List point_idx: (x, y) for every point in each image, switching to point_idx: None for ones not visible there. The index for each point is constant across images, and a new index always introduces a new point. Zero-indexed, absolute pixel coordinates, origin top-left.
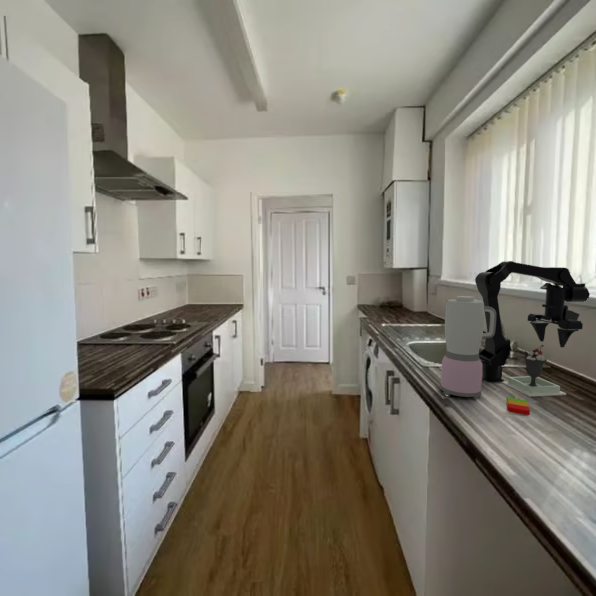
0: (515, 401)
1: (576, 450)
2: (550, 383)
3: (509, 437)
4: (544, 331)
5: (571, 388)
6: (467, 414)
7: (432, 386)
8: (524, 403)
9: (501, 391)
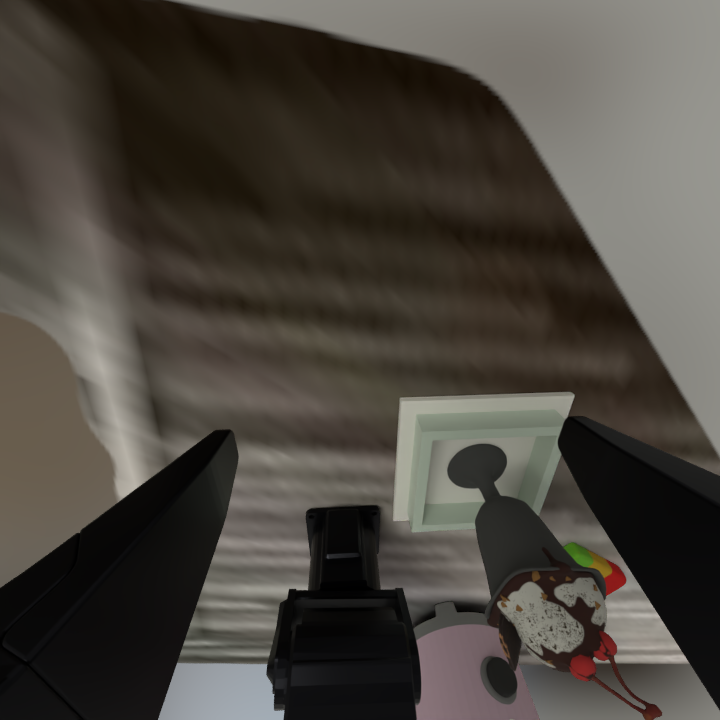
0: None
1: None
2: (525, 436)
3: (662, 629)
4: (132, 572)
5: (522, 303)
6: None
7: None
8: None
9: (465, 551)
